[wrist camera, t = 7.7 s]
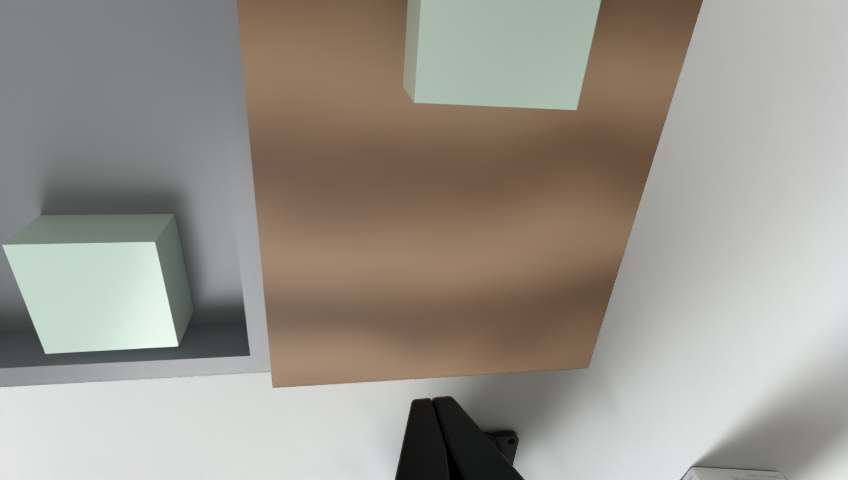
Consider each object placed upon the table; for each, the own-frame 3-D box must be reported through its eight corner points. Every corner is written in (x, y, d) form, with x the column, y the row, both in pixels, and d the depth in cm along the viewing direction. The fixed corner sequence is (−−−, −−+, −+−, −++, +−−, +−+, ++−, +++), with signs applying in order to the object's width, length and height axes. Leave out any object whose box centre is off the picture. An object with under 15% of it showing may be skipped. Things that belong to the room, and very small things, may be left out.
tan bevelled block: (554, 318, 27) (587, 368, 23) (281, 330, 24) (272, 387, 21) (664, -113, 18) (745, -137, 14) (243, -174, 15) (215, -223, 11)
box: (281, 330, 24) (275, 371, 22) (-36, 343, 22) (-87, 392, 19) (243, -174, 15) (224, -207, 12) (-318, -254, 12) (-492, -319, 10)
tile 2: (45, 353, 19) (75, 316, 21) (178, 346, 20) (193, 310, 22) (2, 244, 17) (40, 215, 19) (155, 241, 18) (174, 214, 20)
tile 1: (544, 93, 16) (576, 110, 14) (402, 86, 16) (414, 102, 13) (576, -77, 14) (621, -89, 12) (413, -97, 13) (428, -114, 11)
